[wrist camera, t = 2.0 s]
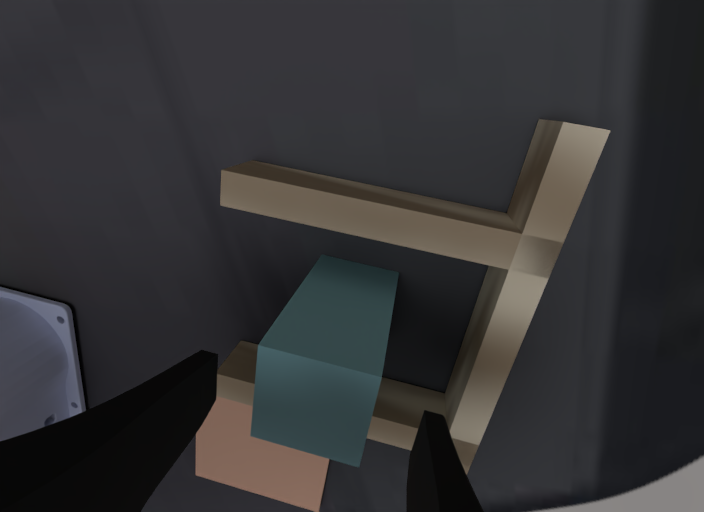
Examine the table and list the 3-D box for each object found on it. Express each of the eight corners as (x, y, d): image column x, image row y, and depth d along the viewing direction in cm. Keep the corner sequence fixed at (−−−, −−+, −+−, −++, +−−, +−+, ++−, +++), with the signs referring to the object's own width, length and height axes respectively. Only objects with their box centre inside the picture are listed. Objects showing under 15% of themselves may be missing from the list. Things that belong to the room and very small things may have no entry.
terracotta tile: (320, 505, 26) (318, 512, 26) (199, 468, 27) (195, 475, 27) (340, 407, 23) (338, 414, 22) (200, 369, 24) (196, 375, 23)
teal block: (383, 338, 20) (359, 467, 13) (312, 320, 21) (250, 436, 14) (399, 272, 19) (381, 377, 12) (321, 254, 19) (258, 344, 12)
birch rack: (445, 469, 23) (448, 518, 20) (236, 410, 24) (212, 448, 22) (577, 126, 15) (610, 130, 12) (258, 68, 17) (225, 60, 14)
